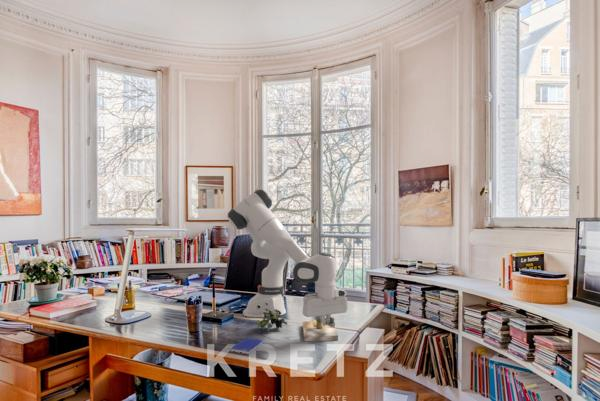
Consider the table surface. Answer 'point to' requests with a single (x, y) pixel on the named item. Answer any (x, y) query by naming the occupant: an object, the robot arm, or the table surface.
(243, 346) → the hard drive
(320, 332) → the door board
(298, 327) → the table surface
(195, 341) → the table surface
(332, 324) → the lock bar
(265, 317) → the green leafy plant
